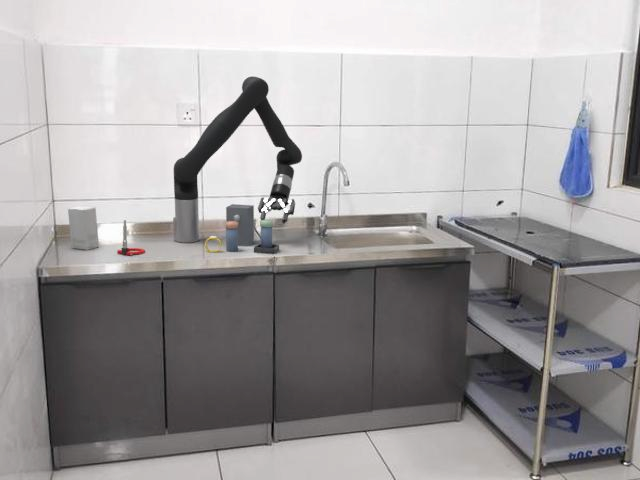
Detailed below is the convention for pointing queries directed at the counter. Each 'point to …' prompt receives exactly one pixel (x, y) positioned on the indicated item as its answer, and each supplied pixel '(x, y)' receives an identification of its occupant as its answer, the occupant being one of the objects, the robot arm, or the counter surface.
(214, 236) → the watch
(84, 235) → the grey paper bag
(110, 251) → the counter surface
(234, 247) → the terracotta cap cartridge
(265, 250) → the tray
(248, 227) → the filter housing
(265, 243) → the green cap cartridge
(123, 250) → the tow hook
